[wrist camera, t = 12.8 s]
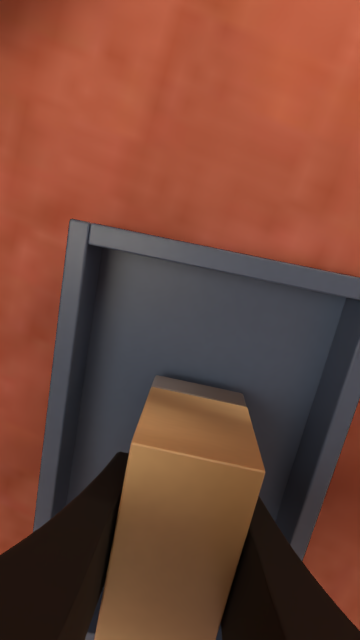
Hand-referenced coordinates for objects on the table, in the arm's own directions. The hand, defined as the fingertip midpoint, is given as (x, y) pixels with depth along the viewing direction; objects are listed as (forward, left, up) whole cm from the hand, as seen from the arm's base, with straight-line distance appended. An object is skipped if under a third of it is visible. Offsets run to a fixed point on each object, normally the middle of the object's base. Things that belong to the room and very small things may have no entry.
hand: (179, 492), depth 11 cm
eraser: (0, 0, -1) cm, 1 cm away
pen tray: (0, 0, -2) cm, 2 cm away
